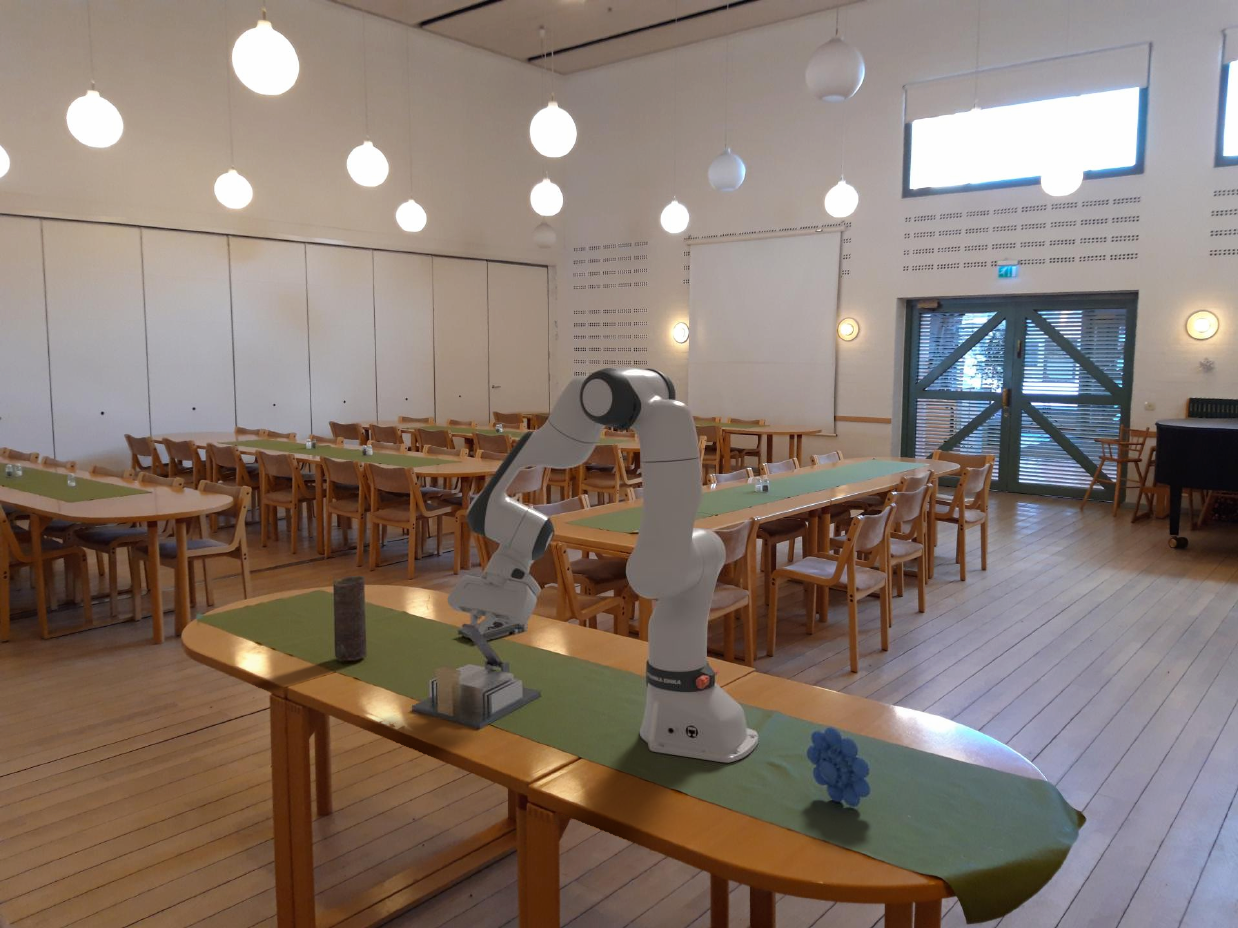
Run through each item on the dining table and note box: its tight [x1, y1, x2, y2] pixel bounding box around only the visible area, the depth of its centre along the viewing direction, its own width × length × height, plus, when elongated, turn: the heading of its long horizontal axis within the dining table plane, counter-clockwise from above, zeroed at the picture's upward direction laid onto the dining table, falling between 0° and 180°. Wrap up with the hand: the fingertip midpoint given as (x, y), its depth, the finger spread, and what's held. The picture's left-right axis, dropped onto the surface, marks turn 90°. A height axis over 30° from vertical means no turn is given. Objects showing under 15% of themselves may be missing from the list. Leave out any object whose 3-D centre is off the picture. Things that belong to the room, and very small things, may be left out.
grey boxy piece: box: [411, 659, 542, 730], centre depth 184 cm, size 18×20×10 cm
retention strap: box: [461, 623, 505, 669], centre depth 185 cm, size 15×3×1 cm
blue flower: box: [806, 726, 871, 808], centre depth 141 cm, size 12×7×12 cm, turn 43°
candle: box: [332, 575, 368, 662], centre depth 210 cm, size 8×7×20 cm
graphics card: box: [457, 619, 529, 642], centre depth 232 cm, size 17×4×12 cm
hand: (474, 632), depth 182 cm, fingers closed, pressing on retention strap
